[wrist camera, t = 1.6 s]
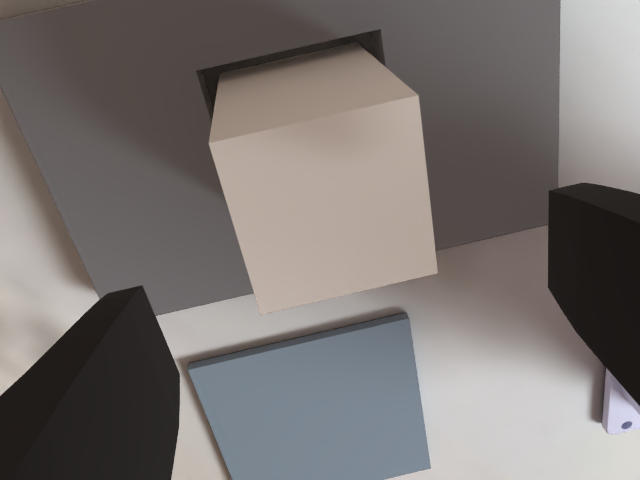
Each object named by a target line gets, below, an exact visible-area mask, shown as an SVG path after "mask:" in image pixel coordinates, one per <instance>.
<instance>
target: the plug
mask: <svg viewBox="0 0 640 480" xmlns="http://www.w3.org/2000/svg"><path fill="white" fill-rule="evenodd" d="M209 146H210V150H211V153H212V156H213V160H214V163H215V166H216V169H217V173H218V176H219V179H220V183H221V186H222V189H223V192H224V196H225V199H226V202H227V206H228V209H229V212H230V216H231V219H232V222H233V225H234V229H235V232H236V235H237V239H238V242H239V245H240V248H241V252H242V255H243V258H244V262H245V265H246V268H247V272H248V275H249V278H250V281H251V285H252V288H253V291H254V295H255V298H256V301H257V304H258V308H259V311H260V314H261V315H262V314H267V313H271V312H275V311H279V310H284V309H288V308H292V307H297V306H301V305H305V304H309V303H314V302H318V301H322V300H326V299H331V298H335V297H339V296H343V295H348V294H352V293H356V292H361V291H365V290H369V289H373V288H378V287H382V286H386V285H390V284H395V283H399V282H403V281H407V280H412V279H416V278H420V277H425V276H429V275H433V274H437V273H438V269H437V260H436V251H435V242H434V232H433V223H432V214H431V205H430V196H429V186H428V177H427V168H426V159H425V150H424V140H423V131H422V122H421V113H420V104H419V95H418V94H416V93H415V92H414V91H413V90H412V89H411V88H409V87H408V86H407V85H406V84H405V83H404V82H402V81H401V80H400V79H399V78H398V77H397V76H395V75H394V74H393V73H392V72H391V71H390V70H388V69H387V68H386V67H385V66H384V65H383V64H381V63H380V62H379V61H378V60H377V59H376V58H374V57H373V56H372V55H371V54H370V53H369V52H367V51H366V50H365V49H364V48H363V47H362V46H360V45H359V44H358V43H352V44H348V45H343V46H339V47H334V48H330V49H326V50H321V51H317V52H312V53H308V54H303V55H299V56H295V57H290V58H286V59H281V60H277V61H272V62H268V63H264V64H259V65H255V66H250V67H246V68H241V69H237V70H233V71H228V72H224V73H220V75H219V81H218V88H217V94H216V100H215V106H214V112H213V119H212V125H211V131H210V137H209Z"/></svg>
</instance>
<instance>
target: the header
mask: <svg viewBox="0 0 640 480" xmlns="http://www.w3.org/2000/svg"><path fill="white" fill-rule="evenodd" d="M370 31H372V38H373V45H374V52H375V58H376V59H377V60H378V61H379V62H380V63H381V64H383V65H384V66H385V67H386V68H387V69H388V70H390V71H391V72H392V73H393V74H394V75H395V76H397V77H398V78H399V79H400V80H401V81H402V82H404V83H405V84H406V85H407V86H408V87H409V88H411V89H412V90H413V91H414V92H415V93H416V94H418V95H419V104H420V113H421V122H422V131H423V140H424V150H425V159H426V168H427V177H428V186H429V196H430V205H431V214H432V223H433V232H434V242H435V251H437V250H441V249H446V248H450V247H454V246H459V245H463V244H467V243H471V242H476V241H480V240H484V239H489V238H493V237H497V236H502V235H506V234H510V233H514V232H519V231H523V230H527V229H532V228H536V227H540V226H545V225H548V210H549V190H554V189H558V140H559V64H560V0H86V1H81V2H77V3H72V4H68V5H63V6H59V7H54V8H50V9H45V10H41V11H36V12H32V13H27V14H23V15H18V16H14V17H9V18H5V19H0V87H1V89H2V91H3V93H4V96H5V98H6V100H7V102H8V104H9V106H10V108H11V111H12V113H13V115H14V117H15V119H16V121H17V123H18V125H19V128H20V130H21V132H22V134H23V136H24V138H25V140H26V143H27V145H28V147H29V149H30V151H31V153H32V155H33V158H34V160H35V162H36V164H37V166H38V168H39V170H40V172H41V175H42V177H43V179H44V181H45V183H46V185H47V187H48V190H49V192H50V194H51V196H52V198H53V200H54V202H55V204H56V207H57V209H58V211H59V213H60V215H61V217H62V219H63V222H64V224H65V226H66V228H67V230H68V232H69V234H70V237H71V239H72V241H73V243H74V245H75V247H76V249H77V251H78V254H79V256H80V258H81V260H82V262H83V264H84V266H85V269H86V271H87V273H88V275H89V277H90V279H91V281H92V283H93V286H94V288H95V290H96V292H97V294H98V296H99V298H100V299H101V298H102V297H104V296H105V295H106V294H107V293H111V292H115V291H119V290H124V289H128V288H132V287H136V286H141V285H143V288H144V290H145V292H146V295H147V297H148V300H149V302H150V304H151V307H152V309H153V312H154V314H155V316H158V315H162V314H166V313H170V312H175V311H179V310H183V309H188V308H192V307H196V306H201V305H205V304H209V303H213V302H218V301H222V300H226V299H231V298H235V297H239V296H244V295H248V294H252V293H254V291H253V288H252V285H251V281H250V278H249V275H248V272H247V268H246V265H245V262H244V258H243V255H242V252H241V248H240V245H239V242H238V239H237V235H236V232H235V229H234V225H233V222H232V219H231V216H230V212H229V209H228V206H227V202H226V199H225V196H224V192H223V189H222V186H221V183H220V179H219V176H218V173H217V169H216V166H215V163H214V160H213V156H212V153H211V150H210V146H209V137H210V131H211V125H212V119H213V112H214V110H213V106H212V103H211V100H210V96H209V93H208V89H207V86H206V82H205V79H204V75H203V72H202V69H206V68H210V67H215V66H219V65H224V64H228V63H233V62H237V61H242V60H246V59H250V58H255V57H259V56H264V55H268V54H273V53H277V52H281V51H286V50H290V49H295V48H299V47H304V46H308V45H312V44H317V43H321V42H326V41H330V40H335V39H339V38H343V37H348V36H352V35H357V34H361V33H366V32H370Z"/></svg>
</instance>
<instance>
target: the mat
mask: <svg viewBox="0 0 640 480" xmlns="http://www.w3.org/2000/svg"><path fill="white" fill-rule="evenodd" d="M188 372H189V374H190V377H191V379H192V382H193V384H194V387H195V389H196V392H197V394H198V397H199V399H200V402H201V404H202V406H203V409H204V411H205V414H206V416H207V419H208V421H209V424H210V426H211V429H212V431H213V434H214V436H215V439H216V441H217V443H218V446H219V448H220V451H221V453H222V456H223V458H224V461H225V463H226V466H227V468H228V471H229V473H230V475H231V478H232V480H384V479H388V478H392V477H396V476H401V475H405V474H409V473H413V472H417V471H422V470H426V469H430V468H431V466H430V459H429V452H428V445H427V439H426V432H425V425H424V418H423V411H422V404H421V397H420V390H419V383H418V377H417V370H416V363H415V356H414V349H413V342H412V335H411V328H410V322H409V317H408V315H407V313H402V314H398V315H394V316H389V317H385V318H381V319H377V320H372V321H368V322H364V323H359V324H355V325H351V326H347V327H342V328H338V329H334V330H330V331H325V332H321V333H317V334H312V335H308V336H304V337H300V338H295V339H291V340H287V341H283V342H278V343H274V344H270V345H265V346H261V347H257V348H253V349H248V350H244V351H240V352H236V353H231V354H227V355H223V356H219V357H214V358H210V359H206V360H201V361H197V362H193V363H189V364H188Z"/></svg>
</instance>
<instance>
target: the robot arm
mask: <svg viewBox="0 0 640 480" xmlns="http://www.w3.org/2000/svg"><path fill="white" fill-rule="evenodd" d="M548 288H549V290H550V291H551V293H552V295H553V296H554V298H555V300H556V301H557V303H558V304H559V306H560V308H561V309H562V311H563V313H564V314H565V316H566V317H567V319H568V320H569V322H570V323H571V325H572V326H573V328H574V329H575V331H576V332H577V333H578V335H579V336H580V337H581V338H582V340H583V341H584V342H585V343H586V344H587V346H588V347H589V348H590V349H591V350H592V351H593V353H594V354H595V355H596V356H597V357H598V359H599V360H600V361H601V362H602V363H603V364H604V366H605V367H606V378H605V392H604V406H603V420H602V426H603V428H604V429H605V431H606V432H607V433H608V434H611V435H613V434H619V433H623V432H627V431H632V430H636V429H640V194H637V193H633V192H629V191H624V190H620V189H616V188H611V187H606V186H601V185H596V184H589V183H579V184H575V185H571V186H567V187H562V188H558V189H554V190H549V210H548ZM179 407H180V374H179V371H178V369H177V367H176V364H175V362H174V359H173V357H172V355H171V352H170V350H169V347H168V345H167V343H166V340H165V338H164V335H163V333H162V331H161V328H160V326H159V324H158V321H157V319H156V316H155V314H154V312H153V309H152V307H151V304H150V302H149V300H148V297H147V295H146V292H145V290H144V288H143V285H141V286H136V287H132V288H128V289H124V290H119V291H115V292H111V293H107V294H106V295H105V296H104V297H102V298H101V299H100V300H99V301H98V302H97V303H95V304H94V305H93V306H92V307H91V308H90V309H89V310H88V311H87V312H86V313H85V314H84V315H83V316H82V317H81V318H80V319H79V320H78V321H77V322H76V323H75V324H74V325H73V326H72V327H71V328H70V329H69V330H68V331H67V332H66V333H65V334H64V335H63V336H62V337H61V338H60V339H59V340H58V341H57V342H56V343H55V344H54V345H53V346H52V347H51V348H50V349H49V350H48V351H47V352H46V353H45V354H44V355H43V356H42V357H41V358H40V359H39V360H38V361H37V362H36V363H35V364H34V365H33V366H32V367H31V368H30V369H29V370H28V371H27V372H26V373H25V374H24V375H23V376H21V377H20V378H19V379H18V380H17V381H16V382H15V383H14V384H13V385H12V386H11V387H10V388H9V389H7V390H6V391H5V392H4V393H3V394H2V395H1V396H0V480H171V476H172V470H173V463H174V456H175V450H176V443H177V436H178V429H179Z"/></svg>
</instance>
